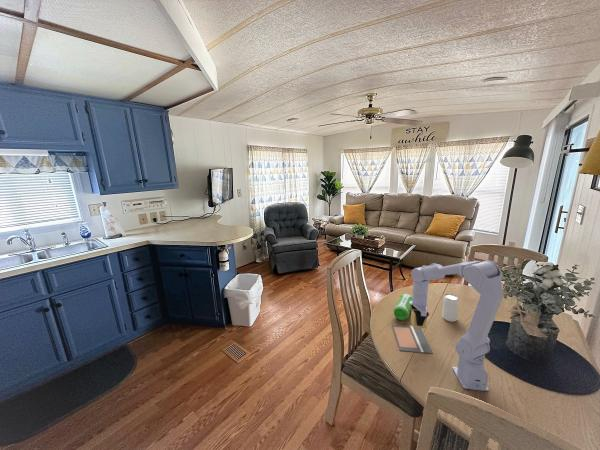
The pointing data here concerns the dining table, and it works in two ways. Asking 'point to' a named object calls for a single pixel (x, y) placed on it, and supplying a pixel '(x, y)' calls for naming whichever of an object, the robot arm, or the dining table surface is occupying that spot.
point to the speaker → (403, 307)
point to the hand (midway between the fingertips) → (417, 321)
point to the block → (413, 320)
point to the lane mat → (411, 339)
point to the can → (450, 307)
